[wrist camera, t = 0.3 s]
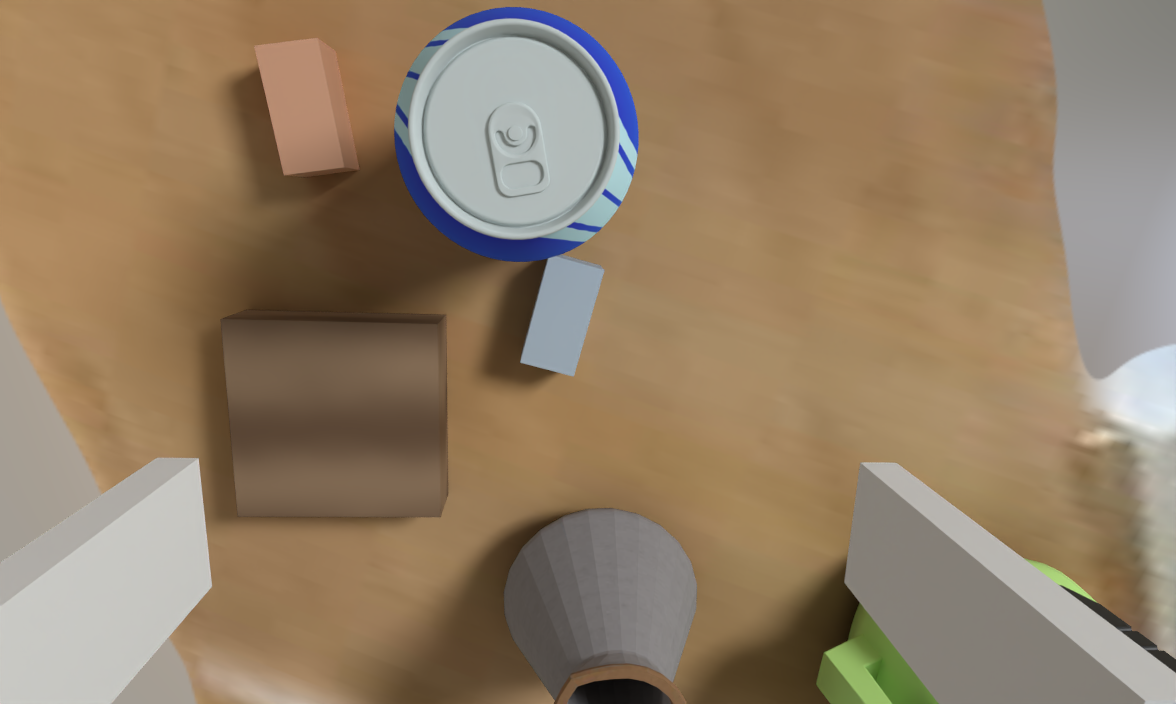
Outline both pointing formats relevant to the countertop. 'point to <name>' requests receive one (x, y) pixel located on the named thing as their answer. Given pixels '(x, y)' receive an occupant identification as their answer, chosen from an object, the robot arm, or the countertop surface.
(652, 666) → the coffee pot
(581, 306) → the greyblue brick
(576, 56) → the beer can
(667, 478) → the countertop surface
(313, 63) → the terracotta brick
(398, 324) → the walnut slab
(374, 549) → the countertop surface
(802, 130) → the countertop surface
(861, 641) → the teapot
